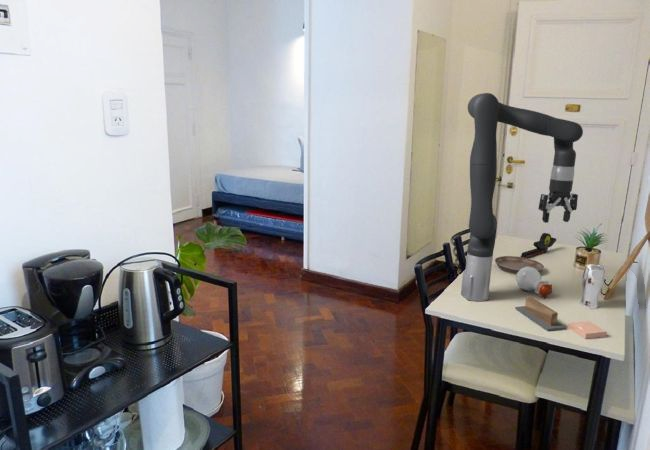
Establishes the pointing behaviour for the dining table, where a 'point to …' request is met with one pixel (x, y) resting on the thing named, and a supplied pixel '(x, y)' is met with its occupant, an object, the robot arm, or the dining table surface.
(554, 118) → the robot arm
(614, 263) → the dining table surface
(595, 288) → the silver upright cylinder
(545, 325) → the mat
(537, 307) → the bar
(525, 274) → the potion bottle
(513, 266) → the plant saucer
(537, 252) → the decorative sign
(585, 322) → the glazed tile
